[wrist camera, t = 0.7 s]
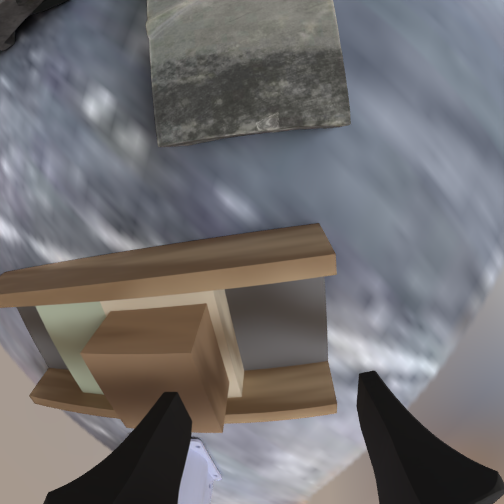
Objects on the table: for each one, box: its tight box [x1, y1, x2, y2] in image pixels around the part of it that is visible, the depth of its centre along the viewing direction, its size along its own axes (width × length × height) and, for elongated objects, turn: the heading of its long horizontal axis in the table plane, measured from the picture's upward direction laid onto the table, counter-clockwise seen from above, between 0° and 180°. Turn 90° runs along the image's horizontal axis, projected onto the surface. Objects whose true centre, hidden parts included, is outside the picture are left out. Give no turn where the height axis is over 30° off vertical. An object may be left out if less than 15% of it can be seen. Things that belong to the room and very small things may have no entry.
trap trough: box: [0, 223, 337, 424], centre depth 18 cm, size 11×25×4 cm, turn 99°
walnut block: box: [80, 303, 230, 433], centre depth 15 cm, size 6×6×4 cm
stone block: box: [146, 0, 351, 147], centre depth 11 cm, size 9×14×5 cm, turn 6°
